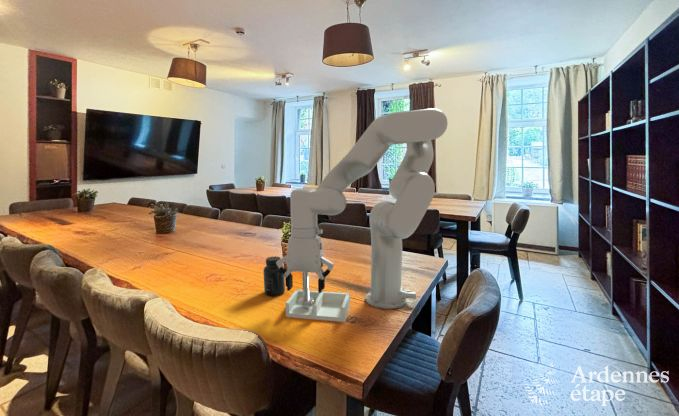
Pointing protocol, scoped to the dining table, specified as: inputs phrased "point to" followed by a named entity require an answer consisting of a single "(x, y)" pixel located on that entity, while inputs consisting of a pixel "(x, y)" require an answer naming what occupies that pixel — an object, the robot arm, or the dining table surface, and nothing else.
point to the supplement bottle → (273, 278)
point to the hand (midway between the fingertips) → (305, 289)
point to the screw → (305, 293)
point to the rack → (320, 306)
